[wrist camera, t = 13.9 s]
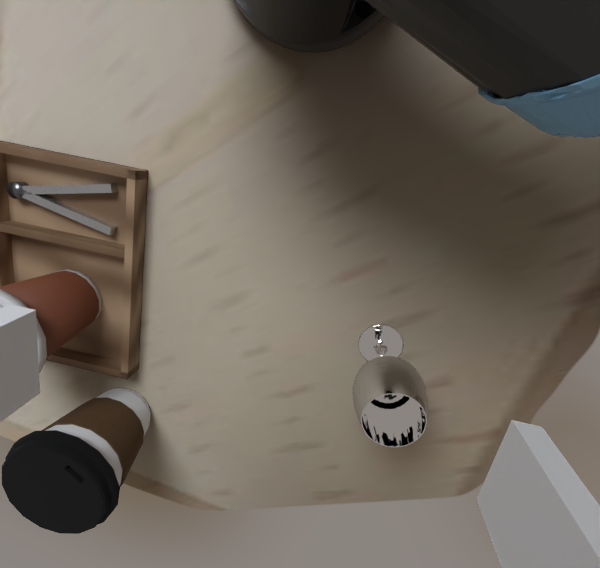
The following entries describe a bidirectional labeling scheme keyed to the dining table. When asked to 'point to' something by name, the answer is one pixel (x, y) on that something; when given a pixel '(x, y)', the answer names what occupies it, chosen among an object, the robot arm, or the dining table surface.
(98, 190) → the steel tongs
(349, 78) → the dining table surface
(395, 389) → the wineglass
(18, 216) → the walnut caddy
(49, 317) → the coffee cup
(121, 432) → the coffee cup
